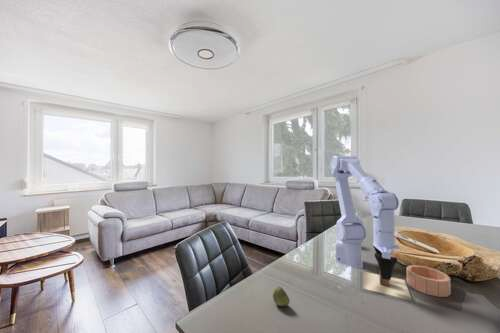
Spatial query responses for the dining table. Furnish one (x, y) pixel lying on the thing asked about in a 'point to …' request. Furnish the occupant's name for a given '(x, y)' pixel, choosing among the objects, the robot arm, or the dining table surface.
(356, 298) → the dining table surface
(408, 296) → the lid
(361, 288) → the mat
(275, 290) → the lime
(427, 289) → the bowl
